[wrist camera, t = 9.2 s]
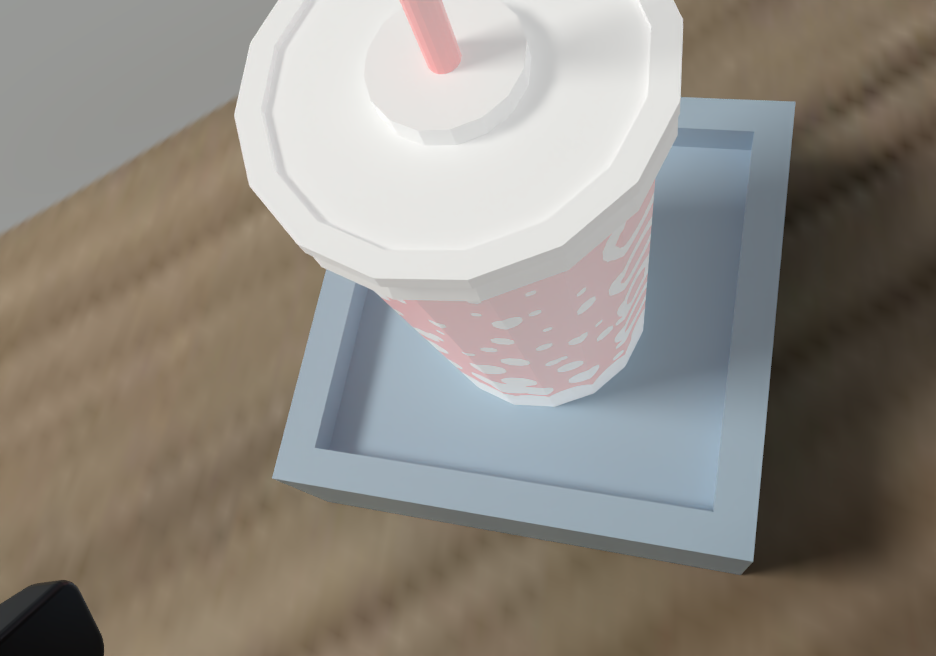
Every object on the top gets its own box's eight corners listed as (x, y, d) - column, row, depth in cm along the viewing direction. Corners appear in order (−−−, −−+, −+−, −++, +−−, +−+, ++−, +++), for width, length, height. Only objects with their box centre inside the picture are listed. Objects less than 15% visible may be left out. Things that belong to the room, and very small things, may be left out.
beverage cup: (566, 500, 18) (308, 153, 5) (360, 337, 21) (-164, -175, 8) (738, 277, 19) (870, -484, 6) (522, 145, 21) (291, -610, 9)
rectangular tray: (740, 574, 19) (753, 561, 16) (326, 501, 22) (272, 478, 19) (778, 175, 22) (795, 101, 19) (410, 153, 25) (374, 84, 22)
